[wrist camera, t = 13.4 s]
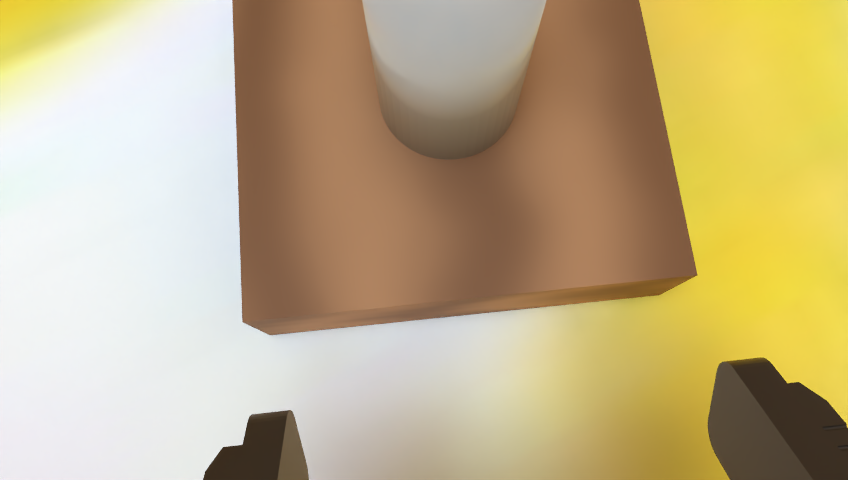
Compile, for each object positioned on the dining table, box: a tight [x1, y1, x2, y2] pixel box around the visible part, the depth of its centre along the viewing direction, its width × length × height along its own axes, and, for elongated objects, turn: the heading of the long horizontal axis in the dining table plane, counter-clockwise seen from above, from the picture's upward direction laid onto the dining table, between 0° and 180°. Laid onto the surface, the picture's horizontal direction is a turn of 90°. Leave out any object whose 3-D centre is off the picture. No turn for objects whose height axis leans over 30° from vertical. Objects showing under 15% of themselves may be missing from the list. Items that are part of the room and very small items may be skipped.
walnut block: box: [233, 0, 697, 335], centre depth 24 cm, size 14×14×4 cm
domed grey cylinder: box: [362, 0, 546, 160], centre depth 18 cm, size 5×5×8 cm
